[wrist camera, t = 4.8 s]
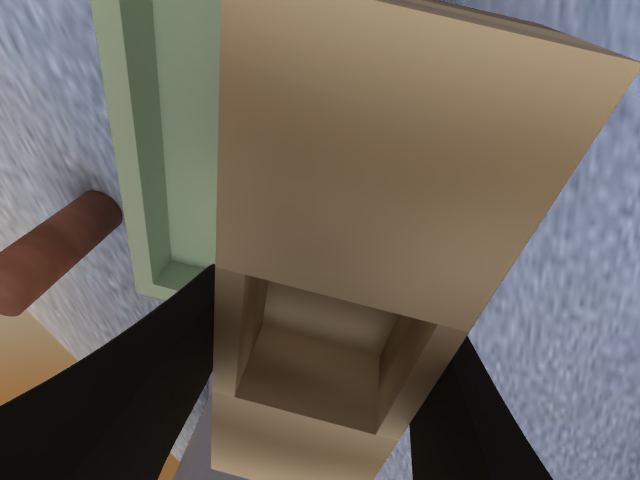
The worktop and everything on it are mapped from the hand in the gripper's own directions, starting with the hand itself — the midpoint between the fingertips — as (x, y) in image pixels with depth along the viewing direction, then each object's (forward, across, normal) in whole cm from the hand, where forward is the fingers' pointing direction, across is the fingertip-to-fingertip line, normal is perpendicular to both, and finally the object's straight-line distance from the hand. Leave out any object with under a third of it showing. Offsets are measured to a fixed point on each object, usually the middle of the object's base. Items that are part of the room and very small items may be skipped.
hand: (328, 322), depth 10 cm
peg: (+9, +13, +6) cm, 17 cm away
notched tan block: (+3, 0, 0) cm, 3 cm away
